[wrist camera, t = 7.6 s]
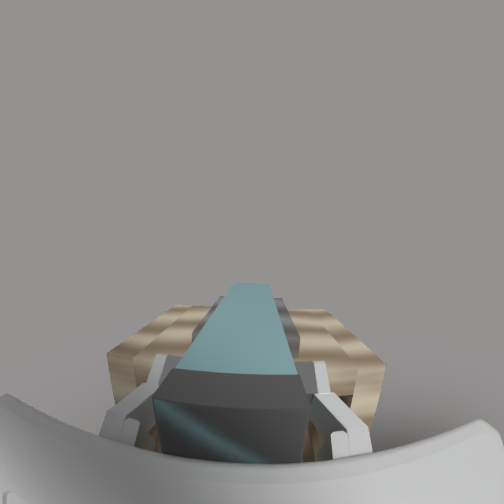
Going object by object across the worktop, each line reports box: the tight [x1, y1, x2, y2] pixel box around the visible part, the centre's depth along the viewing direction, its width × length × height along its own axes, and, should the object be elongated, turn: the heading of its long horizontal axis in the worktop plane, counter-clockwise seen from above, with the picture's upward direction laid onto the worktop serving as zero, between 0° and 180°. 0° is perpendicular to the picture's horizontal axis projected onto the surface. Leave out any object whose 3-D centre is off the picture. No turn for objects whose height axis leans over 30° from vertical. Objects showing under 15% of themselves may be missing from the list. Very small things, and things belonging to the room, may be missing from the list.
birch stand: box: [107, 296, 386, 462], centre depth 24 cm, size 17×18×28 cm
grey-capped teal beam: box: [152, 283, 310, 464], centre depth 19 cm, size 25×4×3 cm, turn 179°
